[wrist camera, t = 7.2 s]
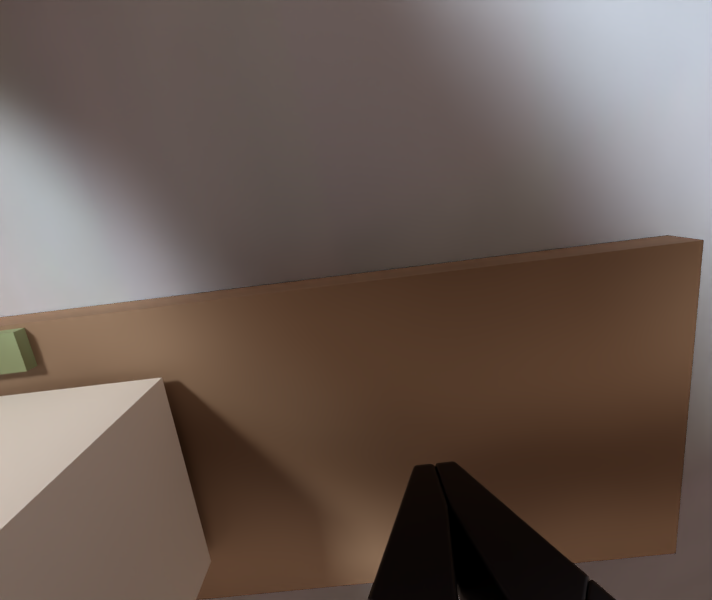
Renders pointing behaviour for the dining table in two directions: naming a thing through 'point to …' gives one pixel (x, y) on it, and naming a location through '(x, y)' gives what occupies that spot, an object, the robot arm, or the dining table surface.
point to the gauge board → (406, 400)
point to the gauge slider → (96, 497)
